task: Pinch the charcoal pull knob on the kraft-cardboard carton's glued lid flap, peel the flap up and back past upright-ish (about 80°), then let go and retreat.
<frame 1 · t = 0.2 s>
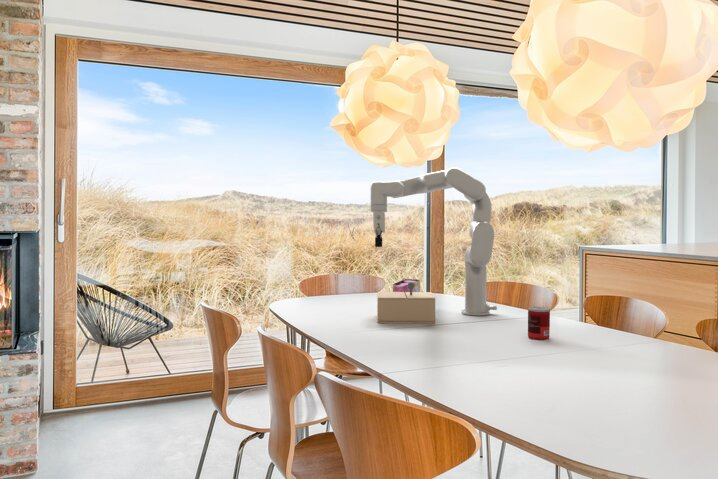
hand: (378, 246, 259), 31 cm above the table, tool pointing down, fingers open, 9 cm apart
gum box: (406, 310, 271), on the table
carton flap: (419, 289, 245), point 13 cm above the table, hinge at 0.0°
carton: (405, 319, 246), on the table
canned food: (538, 338, 209), on the table
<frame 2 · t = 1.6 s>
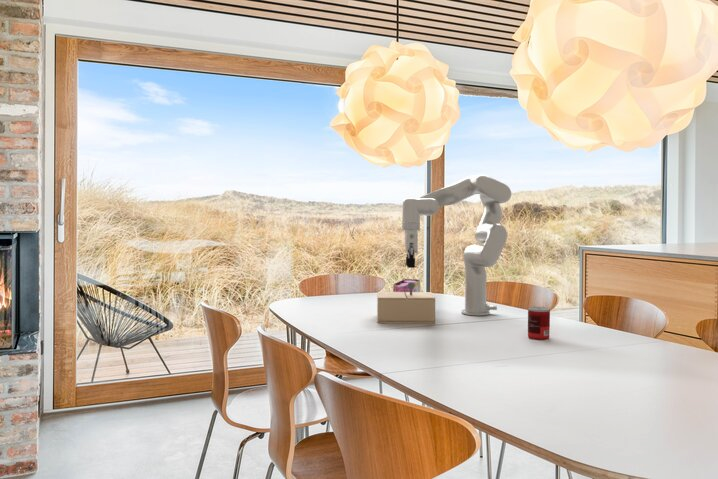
hand: (410, 266, 245), 23 cm above the table, tool pointing down, fingers open, 9 cm apart
nothing on the table moved.
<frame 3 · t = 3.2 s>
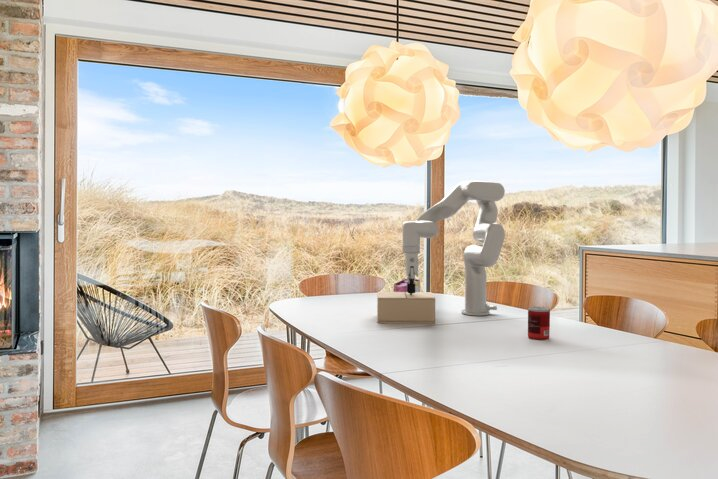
hand: (411, 291, 245), 12 cm above the table, tool pointing down, fingers closed on carton flap, 3 cm apart
carton flap: (419, 289, 245), point 13 cm above the table, hinge at 0.0°, touching gripper
everything else where it was.
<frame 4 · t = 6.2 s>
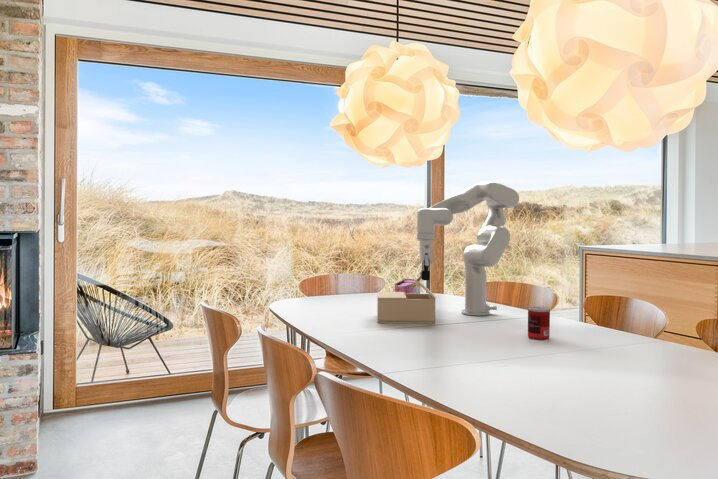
hand: (425, 279, 245), 17 cm above the table, tool pointing down, fingers closed on carton flap, 3 cm apart
carton flap: (427, 281, 245), point 16 cm above the table, hinge at 41.9°, touching gripper
everything else where it was.
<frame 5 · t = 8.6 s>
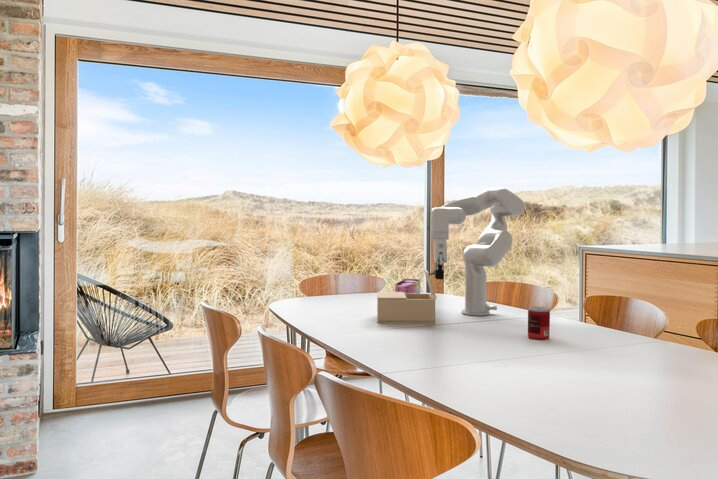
hand: (439, 278, 245), 18 cm above the table, tool pointing down, fingers closed on carton flap, 3 cm apart
carton flap: (436, 281, 245), point 17 cm above the table, hinge at 72.6°, touching gripper
everything else where it was.
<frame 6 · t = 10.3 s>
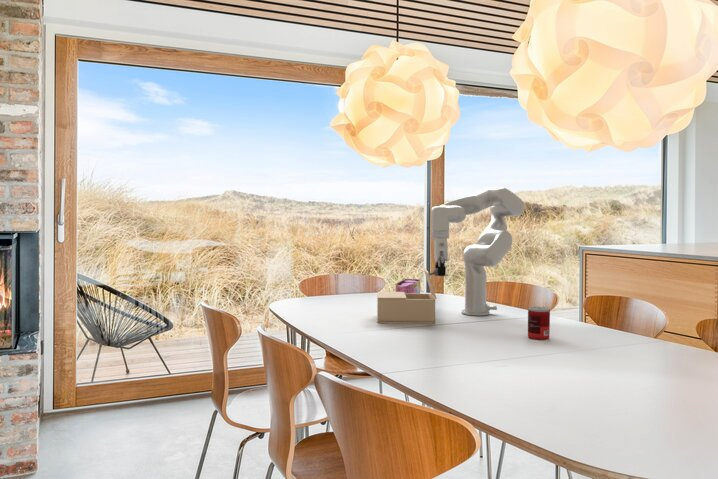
hand: (440, 274, 245), 19 cm above the table, tool pointing down, fingers open, 9 cm apart
carton flap: (436, 281, 245), point 17 cm above the table, hinge at 72.9°
everything else where it was.
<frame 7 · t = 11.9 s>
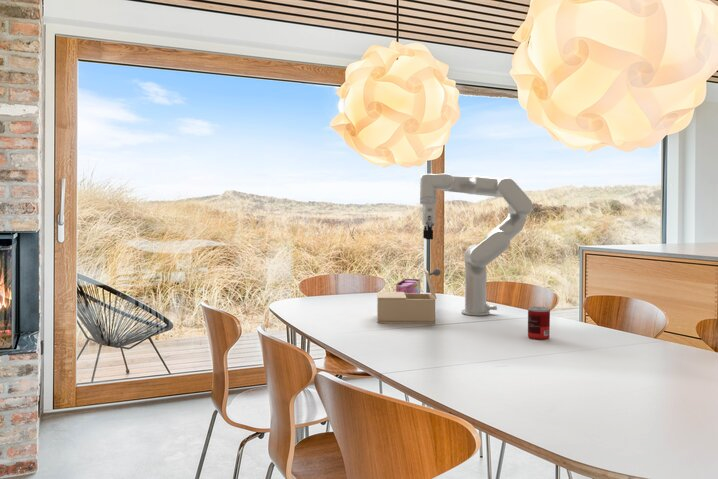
hand: (428, 238, 259), 34 cm above the table, tool pointing down, fingers open, 9 cm apart
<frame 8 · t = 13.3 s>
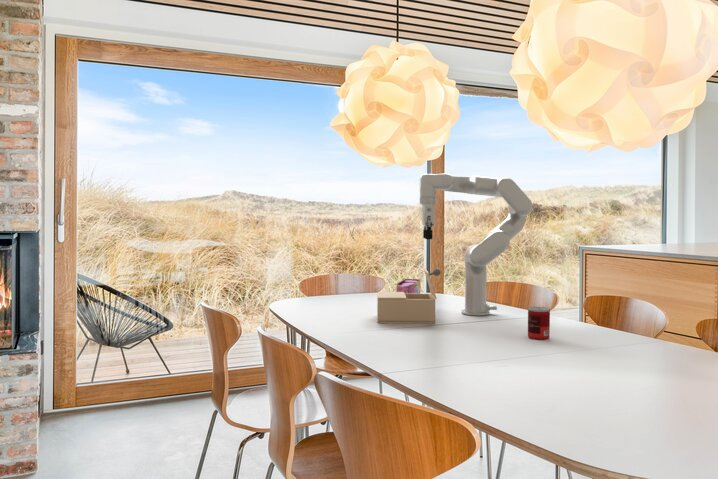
hand: (427, 238, 259), 34 cm above the table, tool pointing down, fingers open, 9 cm apart
at the end: carton flap at +73° (first picture: +0°); the gripper is holding nothing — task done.
